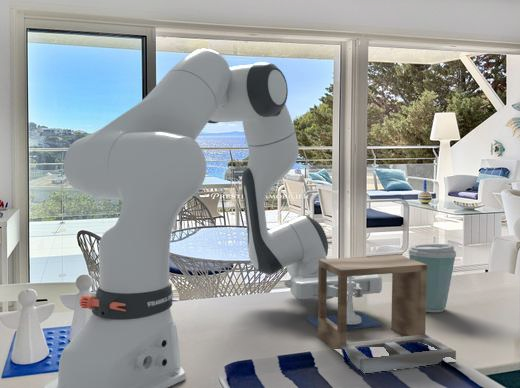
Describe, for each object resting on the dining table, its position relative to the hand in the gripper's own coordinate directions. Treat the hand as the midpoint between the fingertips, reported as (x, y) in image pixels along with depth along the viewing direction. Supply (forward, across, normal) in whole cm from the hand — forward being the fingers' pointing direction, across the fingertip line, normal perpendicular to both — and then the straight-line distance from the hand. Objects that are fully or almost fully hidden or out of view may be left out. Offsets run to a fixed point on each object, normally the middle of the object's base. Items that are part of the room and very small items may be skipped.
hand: (351, 294), depth 111 cm
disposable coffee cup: (-7, +23, +7) cm, 25 cm away
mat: (-3, 0, +7) cm, 8 cm away
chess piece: (-1, 0, +6) cm, 6 cm away
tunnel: (+13, 0, +7) cm, 14 cm away
